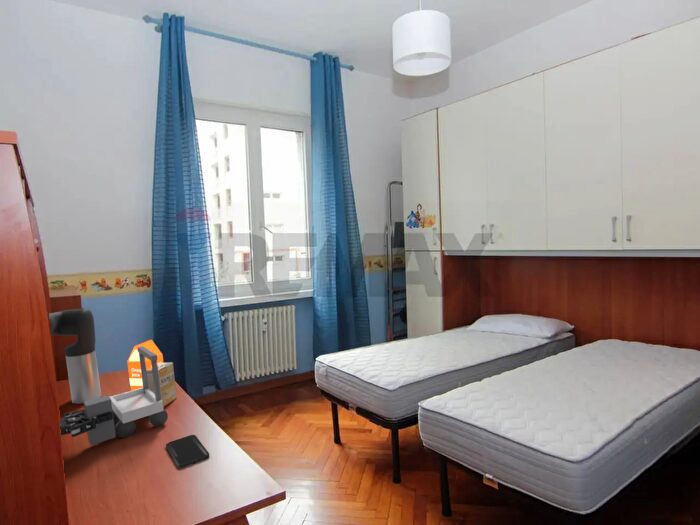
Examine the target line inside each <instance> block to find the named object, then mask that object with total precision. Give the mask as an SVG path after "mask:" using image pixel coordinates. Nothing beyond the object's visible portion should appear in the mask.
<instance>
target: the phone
mask: <svg viewBox="0 0 700 525" xmlns="http://www.w3.org/2000/svg"><path fill="white" fill-rule="evenodd" d="M165 448H166V451H167V452H168V454H169V453H170V454H169V455H170V457H171V459H172V460H173V462H174V464H175V466H176V467H177V468H178V469H184V468H186V467H189V466H192V465H195V464H197V463H201V462H203V461H206V460H208V459H209V458H210V453H209V451H208V450H207V448H205V446H204V445H203V444H202V442H201V440H199V438H198V437H197V436H196V435H195V434H191V435H190V434H189V435H187V436H183V437H180V438H177V439H174V440H172V441H168V442H167V443H166V444H165Z"/></svg>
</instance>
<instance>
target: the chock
mask: <svg viewBox="0 0 700 525" xmlns="http://www.w3.org/2000/svg"><path fill="white" fill-rule="evenodd" d="M83 409H85V416H87V417H92V416H97V415H100V414H103V413H106V412H110V411H111V412H112V403H111V399H110V396H109V395H108V394H107V395H103V396H101V397H99V398H95V399H92V400H88V401H84V403H83ZM112 415H113V412H112ZM87 421H88V420H87ZM89 424H90V423H89ZM88 428H89V427H88ZM86 433H87V437H88V438H87V439H88V442H89V443H90V445H91V446H92V445H96V444H99V443H102V442H104V441H108V440H111V439H115V438H116V431H115V425H114V420H113V419H112V420H109V421H106V422H102V423H99V424H98V425H97V426H96V428H95V429H92V430H90V431H87V432H86Z"/></svg>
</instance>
